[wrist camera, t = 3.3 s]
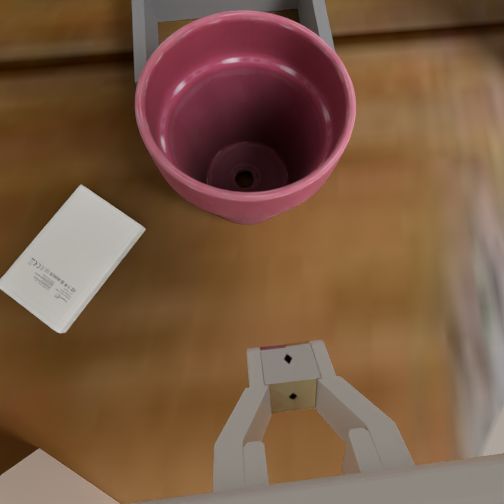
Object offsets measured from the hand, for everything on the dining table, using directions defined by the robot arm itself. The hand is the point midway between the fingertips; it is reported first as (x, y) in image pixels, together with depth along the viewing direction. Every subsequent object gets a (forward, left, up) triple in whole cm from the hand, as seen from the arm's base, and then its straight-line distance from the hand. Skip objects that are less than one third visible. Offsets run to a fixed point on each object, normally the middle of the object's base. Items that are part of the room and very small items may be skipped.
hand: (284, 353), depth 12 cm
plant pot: (0, -15, -17) cm, 23 cm away
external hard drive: (+18, -9, -17) cm, 27 cm away
